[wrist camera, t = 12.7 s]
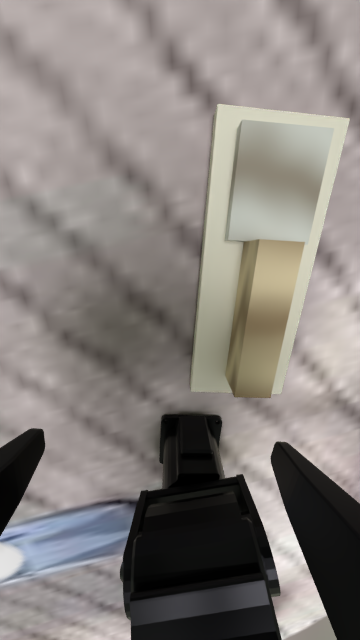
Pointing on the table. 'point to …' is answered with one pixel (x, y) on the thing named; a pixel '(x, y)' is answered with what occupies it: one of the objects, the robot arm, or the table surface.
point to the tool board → (226, 255)
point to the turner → (269, 240)
